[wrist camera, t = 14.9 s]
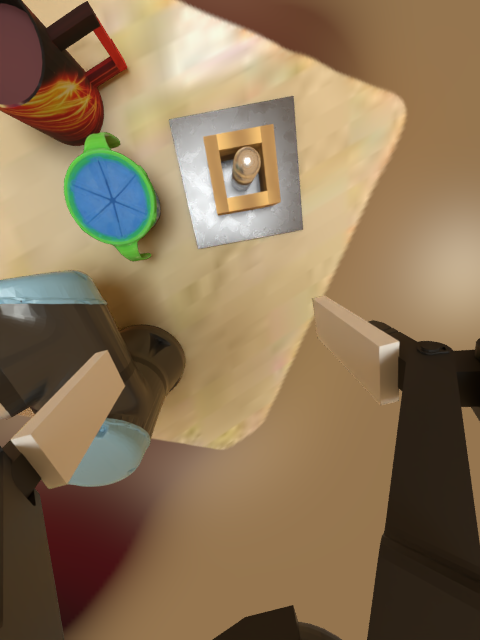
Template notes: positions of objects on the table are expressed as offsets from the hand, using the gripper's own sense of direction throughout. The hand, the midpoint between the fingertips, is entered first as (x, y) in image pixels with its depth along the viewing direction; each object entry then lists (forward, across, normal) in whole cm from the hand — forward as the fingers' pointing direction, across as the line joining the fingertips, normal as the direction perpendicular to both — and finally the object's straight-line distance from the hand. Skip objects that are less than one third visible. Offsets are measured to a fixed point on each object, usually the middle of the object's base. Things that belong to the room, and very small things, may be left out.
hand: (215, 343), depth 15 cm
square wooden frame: (+29, +7, +13) cm, 32 cm away
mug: (+30, -12, +28) cm, 43 cm away
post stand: (+29, +8, +13) cm, 33 cm away
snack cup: (+30, -10, +13) cm, 34 cm away
